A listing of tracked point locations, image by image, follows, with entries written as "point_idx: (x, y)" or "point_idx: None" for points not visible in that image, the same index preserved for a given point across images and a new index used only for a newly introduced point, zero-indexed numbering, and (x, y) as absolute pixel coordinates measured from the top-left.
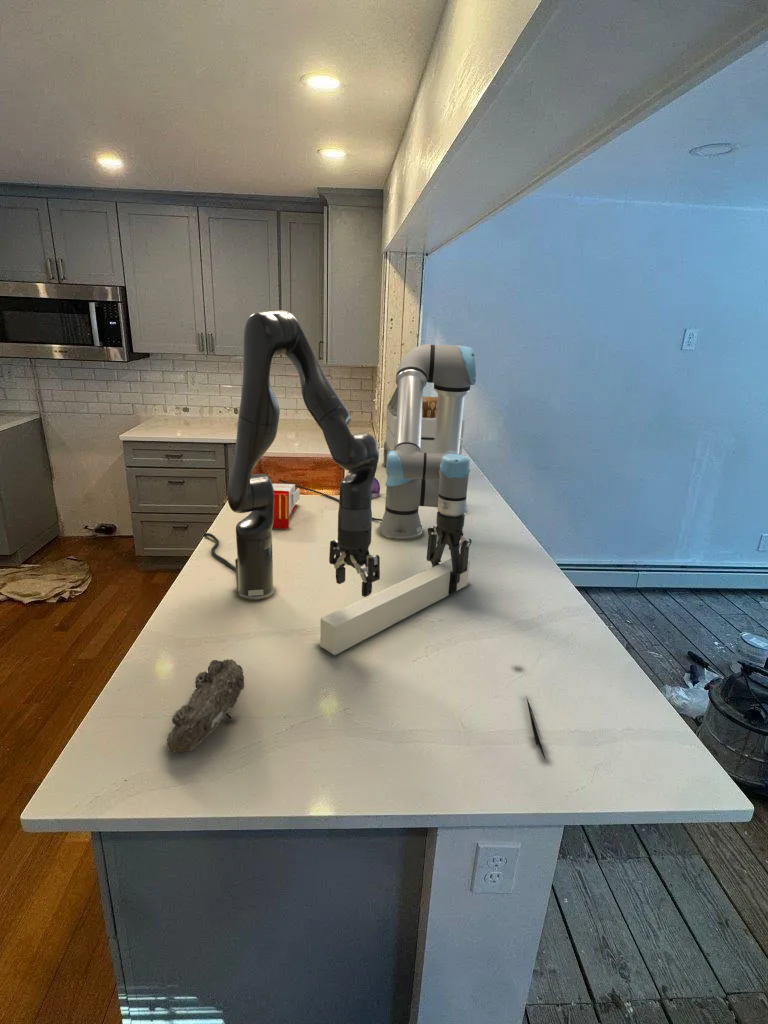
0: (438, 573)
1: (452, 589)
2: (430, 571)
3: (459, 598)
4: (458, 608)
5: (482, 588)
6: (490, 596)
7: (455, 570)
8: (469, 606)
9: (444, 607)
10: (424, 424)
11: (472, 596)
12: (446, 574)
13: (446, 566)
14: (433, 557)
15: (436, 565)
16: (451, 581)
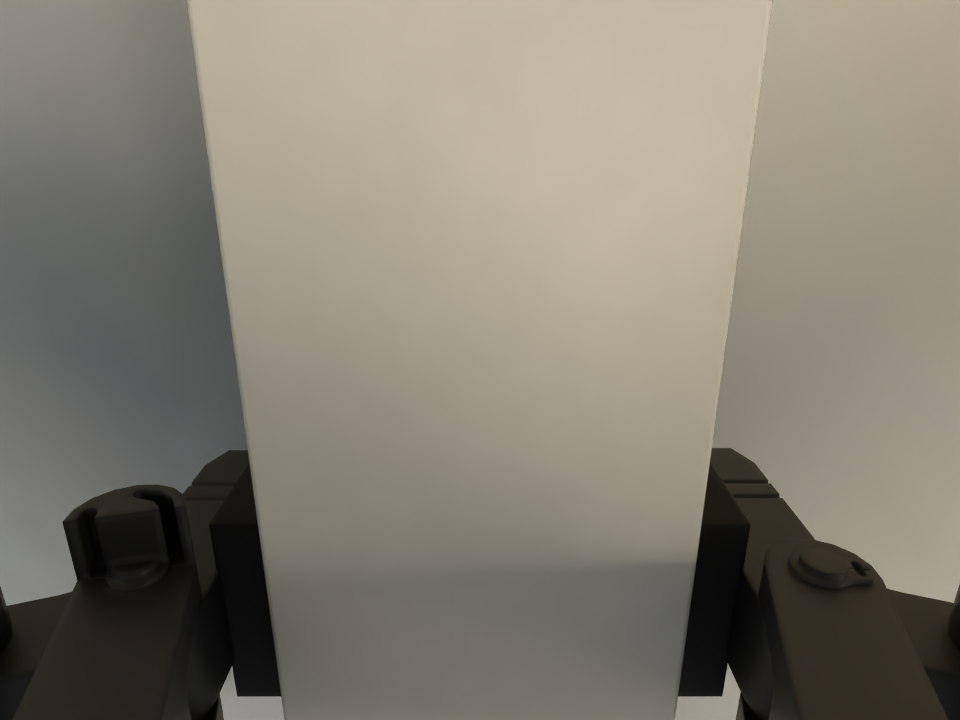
0: (352, 219)
1: None
2: (599, 146)
3: (228, 378)
4: (39, 158)
5: (242, 710)
6: None
7: (90, 602)
8: (9, 308)
9: (164, 25)
10: None
11: None
12: (248, 387)
13: (489, 658)
14: (918, 700)
15: (691, 546)
16: None
